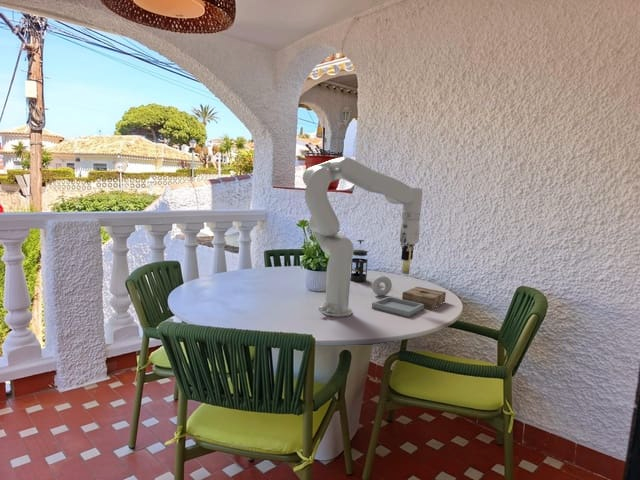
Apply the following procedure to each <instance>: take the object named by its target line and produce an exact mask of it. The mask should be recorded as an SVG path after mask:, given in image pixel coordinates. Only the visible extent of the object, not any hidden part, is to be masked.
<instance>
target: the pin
mask: <svg viewBox="0 0 640 480" xmlns="http://www.w3.org/2000/svg"><path fill="white" fill-rule="evenodd" d="M406 246H407V245H406ZM411 249H412V246H409V260H408V261H407V260H402V269H401V273H402V274H403V275H404V274H405V275H410V268H411V267H410V266H411V260H410V259H411Z"/></svg>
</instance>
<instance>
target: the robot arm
mask: <svg viewBox="0 0 640 480" xmlns="http://www.w3.org/2000/svg"><path fill="white" fill-rule="evenodd" d="M341 179H342V180H345V182H348V183H350V184H352V185H354V186H357V187H358V188H359V189H362V190H364V191H367V192H370V193H375V194H380V195H383V196H384V198H385V201H387V202H388V203H389V204H393V205H402V216H401V226H400V233H399V242H400V246H401V256H400V257H401V258H400V260H402V261H403V260H407V261H408V260H409V246H412V249H411V259H410V261H412V260H413V256H414V250H415V245H416V244H419V242H420V230H421V229H420V227H421V226H420V221H421V213H422V212H421V211H422V202H423V189H422V188H419V187H411V186H409V185H408V184H406V183H404V182H403V181H401V180H398V179H396V178H394V177H392V176H388V175H386V174H384V173H382V172H379V171H376V170H374V169H372V168H370V167H368V166H366V165H364V164H362V163H360V162H359V161H357V160H355V159H353V158H351V157H347V156H342V157H337V158H333V159H330V160H328V161H325V162H322V163H319V164H316V165H313V166H309V167H308V168H307V169H305V171H304V172H303V174H302V181H303V183H304V184H305V185H306V187H305V192H304V199H305V203H306V206H307V208H308V210H309V212H310V215H311V216H310V218H309V226H310V227H309V228H310V230H311V232H312V234H313V236H314V238H315V239H316V242H317V244H318V245H319V247H320V249H321V250H322V251H323V253H325V255H327V256H329V257H328V260H327V264H326V265H327V266H326V283H325V301H324V303H323V305H322V306H319V307H318V312H319V313H321V314H323V315H325V316H328V317H334V318H335V317H336V318H344V317H348V316H350V315H352V313H353V309H352V308H350V307H349V305H350V304H349V303H350V302H349V301H350V288H351V287H350V285H351V281H350V277H351V261H352V259H353V258H354V257H353V256H354V255H353V252H354V250H355V248H354V244H353V242H352V241H351V239H350V238H349V237H347V236H345V235H341V234H339V233H338V232H339V230H340V228H341V227H340V226H341V225H340V221H339V218H338V216H337V215H336V213H335V210H334V208H333V206H332V204H331V203H330V200H329V198H328V190H329V186H330V185H331V183H333V182H334V181H337V180H341ZM406 245H407V246H406Z"/></svg>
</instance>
